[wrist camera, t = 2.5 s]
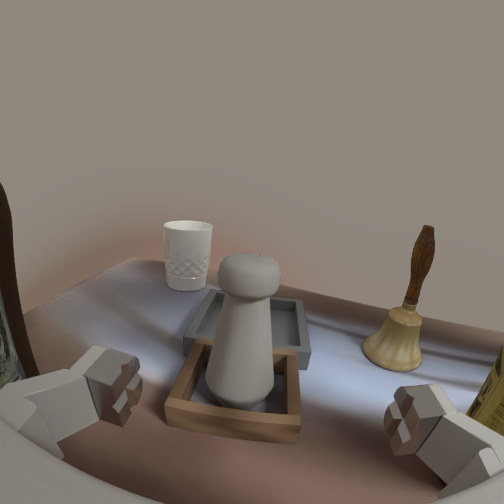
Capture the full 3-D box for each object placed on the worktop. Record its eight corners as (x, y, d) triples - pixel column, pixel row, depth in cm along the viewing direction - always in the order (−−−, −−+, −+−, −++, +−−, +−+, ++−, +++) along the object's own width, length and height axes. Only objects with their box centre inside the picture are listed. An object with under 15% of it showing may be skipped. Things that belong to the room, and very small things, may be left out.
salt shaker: (198, 380, 24) (200, 246, 21) (255, 371, 27) (269, 245, 23) (217, 425, 19) (222, 273, 16) (281, 410, 21) (309, 268, 18)
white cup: (169, 273, 50) (170, 219, 48) (212, 277, 51) (214, 222, 48) (157, 290, 43) (157, 228, 40) (207, 295, 43) (209, 231, 41)
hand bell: (429, 352, 30) (464, 232, 26) (408, 381, 25) (455, 237, 21) (379, 329, 36) (405, 217, 32) (350, 352, 31) (380, 217, 27)
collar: (292, 368, 27) (296, 349, 27) (295, 443, 18) (301, 425, 17) (197, 356, 28) (197, 337, 27) (167, 425, 18) (163, 405, 18)
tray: (299, 313, 40) (302, 299, 39) (306, 369, 27) (311, 352, 27) (210, 303, 41) (210, 289, 40) (183, 354, 28) (183, 336, 28)
